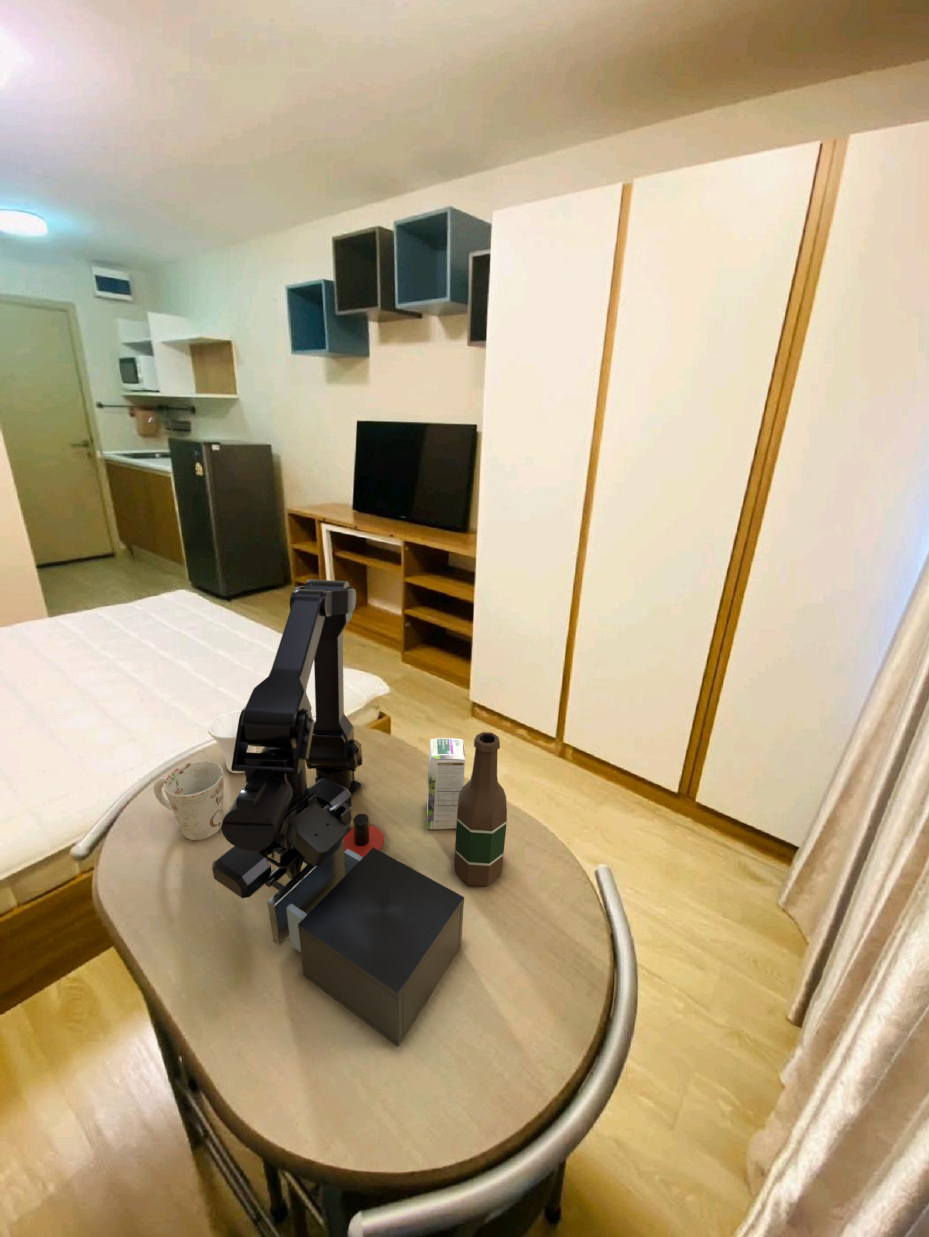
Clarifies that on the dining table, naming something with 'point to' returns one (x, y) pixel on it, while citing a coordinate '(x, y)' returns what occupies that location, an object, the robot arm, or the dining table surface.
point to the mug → (194, 798)
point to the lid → (363, 836)
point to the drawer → (305, 893)
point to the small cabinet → (382, 941)
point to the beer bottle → (481, 818)
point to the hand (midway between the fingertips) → (293, 877)
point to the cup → (227, 735)
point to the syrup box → (445, 782)
